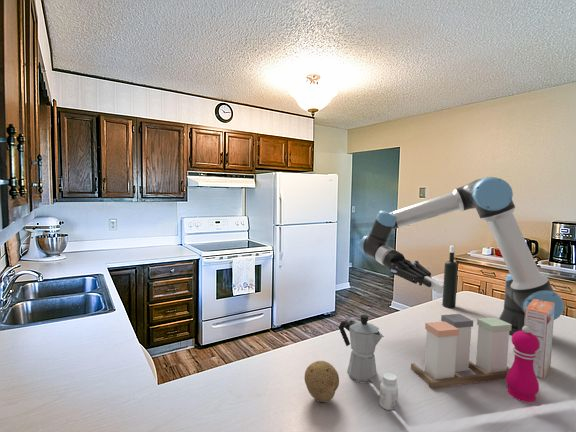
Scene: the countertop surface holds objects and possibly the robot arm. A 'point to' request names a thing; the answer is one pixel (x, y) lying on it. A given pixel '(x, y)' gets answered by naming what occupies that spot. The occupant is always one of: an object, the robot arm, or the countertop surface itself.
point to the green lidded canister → (492, 344)
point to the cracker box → (541, 332)
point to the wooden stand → (460, 377)
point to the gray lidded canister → (461, 339)
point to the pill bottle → (388, 391)
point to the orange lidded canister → (440, 350)
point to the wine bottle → (450, 281)
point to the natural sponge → (321, 380)
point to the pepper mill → (523, 366)
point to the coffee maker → (361, 348)
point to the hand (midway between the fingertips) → (441, 289)
